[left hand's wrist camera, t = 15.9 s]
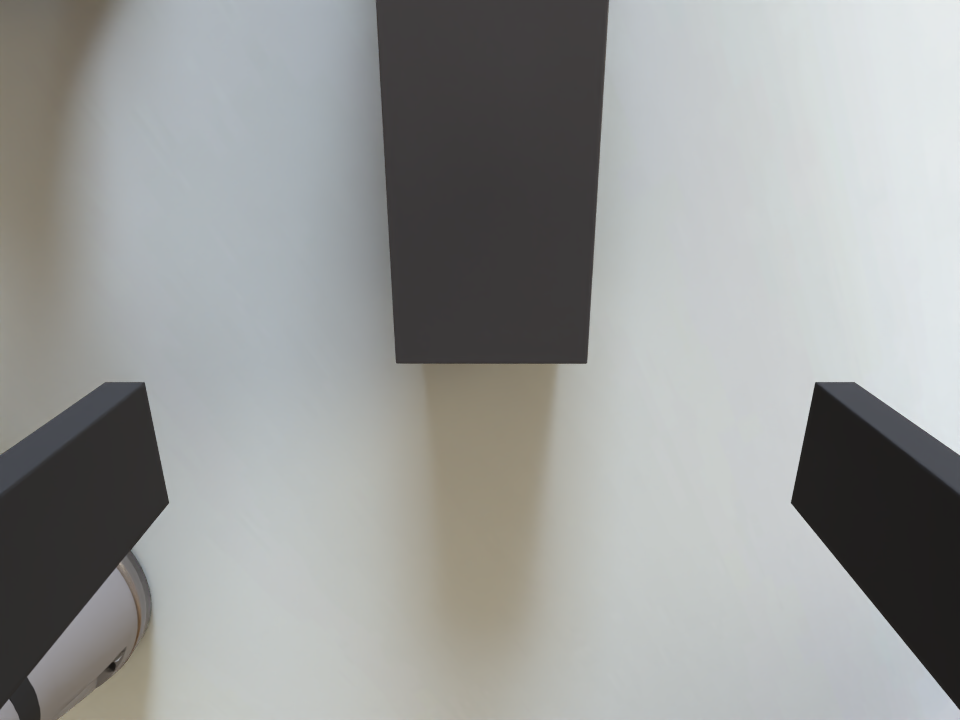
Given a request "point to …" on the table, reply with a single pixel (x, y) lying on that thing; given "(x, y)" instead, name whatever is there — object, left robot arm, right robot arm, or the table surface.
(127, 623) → the left robot arm
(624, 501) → the table surface
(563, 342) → the box
